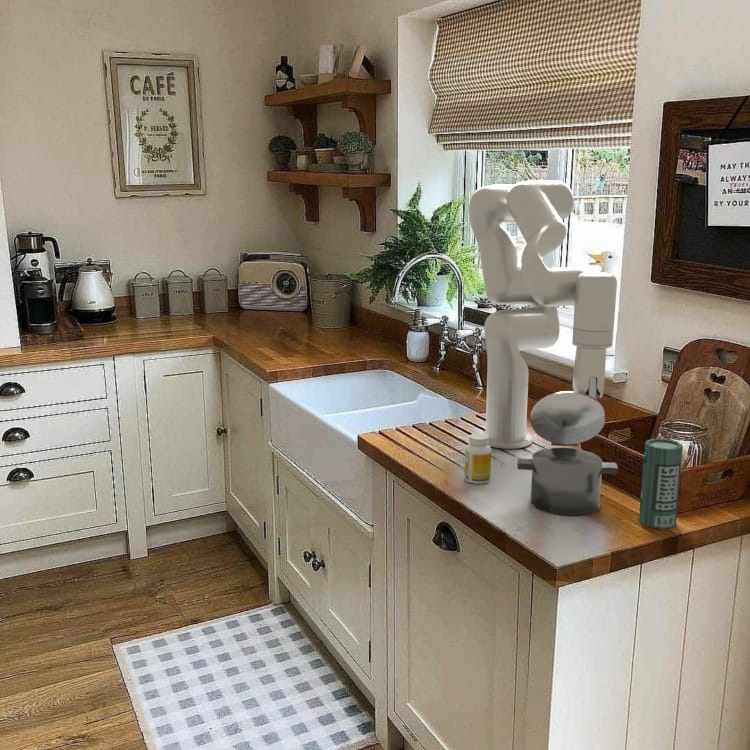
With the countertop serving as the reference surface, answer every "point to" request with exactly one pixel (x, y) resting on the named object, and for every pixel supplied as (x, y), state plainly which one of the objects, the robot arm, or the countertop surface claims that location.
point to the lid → (567, 418)
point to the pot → (566, 480)
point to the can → (660, 483)
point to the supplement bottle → (478, 459)
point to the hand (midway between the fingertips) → (586, 428)
